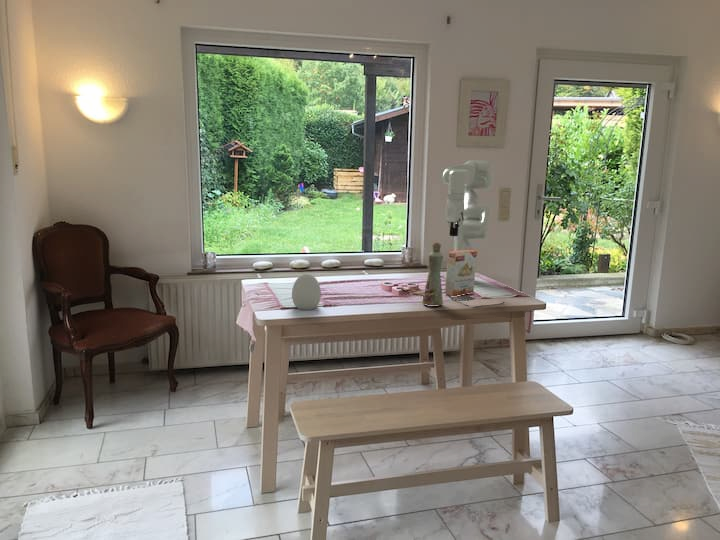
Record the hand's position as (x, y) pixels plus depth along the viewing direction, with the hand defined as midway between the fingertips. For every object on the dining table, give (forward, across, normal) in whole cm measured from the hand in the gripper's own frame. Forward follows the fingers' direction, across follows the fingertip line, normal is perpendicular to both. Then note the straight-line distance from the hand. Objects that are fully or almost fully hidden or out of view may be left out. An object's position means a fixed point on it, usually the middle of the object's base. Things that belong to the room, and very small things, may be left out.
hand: (453, 235), depth 284 cm
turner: (+27, -2, -18) cm, 33 cm away
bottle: (+27, +18, -23) cm, 40 cm away
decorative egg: (+27, +2, -76) cm, 81 cm away
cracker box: (+27, +8, 0) cm, 28 cm away
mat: (+27, +20, 0) cm, 34 cm away
